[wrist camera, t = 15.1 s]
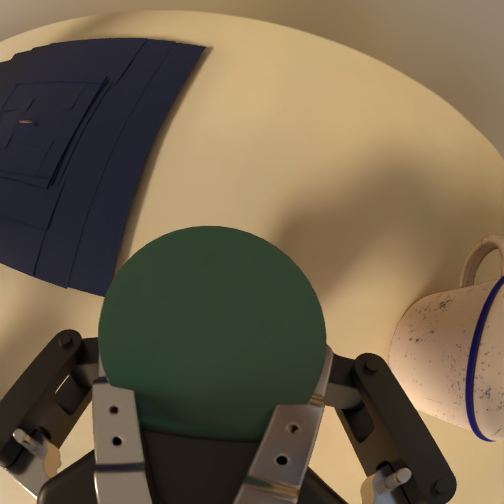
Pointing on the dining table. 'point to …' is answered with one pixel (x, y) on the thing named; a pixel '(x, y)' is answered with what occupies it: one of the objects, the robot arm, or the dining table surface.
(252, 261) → the lid
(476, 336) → the teacup with lid
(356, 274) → the dining table surface
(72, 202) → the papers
